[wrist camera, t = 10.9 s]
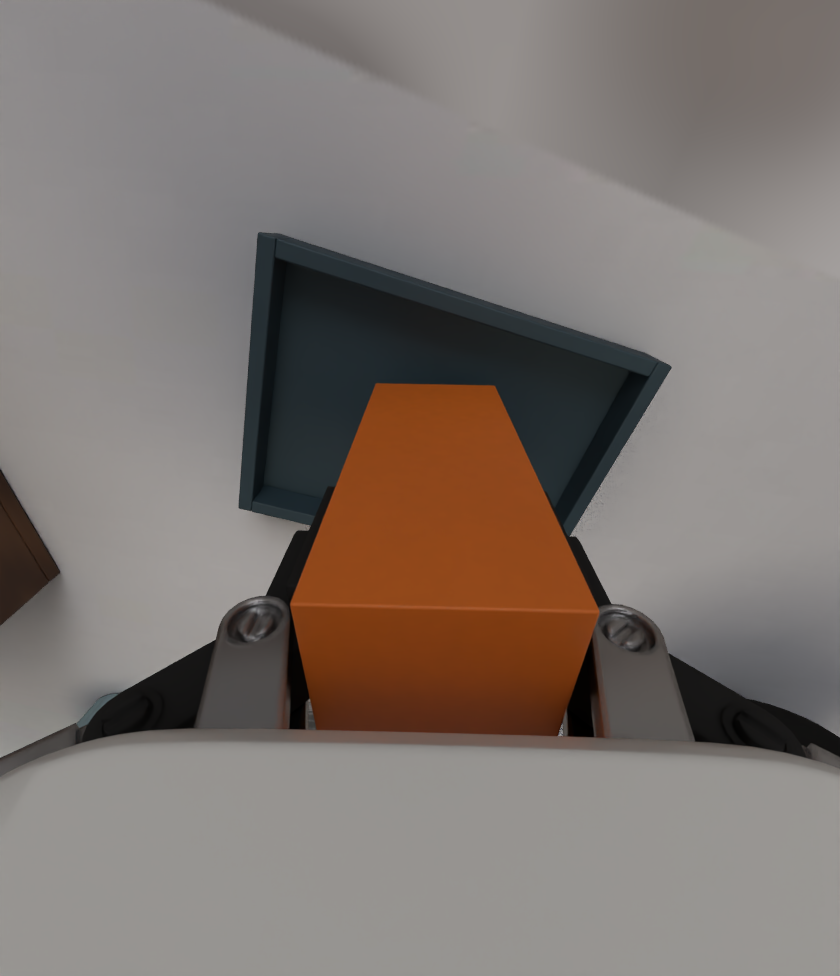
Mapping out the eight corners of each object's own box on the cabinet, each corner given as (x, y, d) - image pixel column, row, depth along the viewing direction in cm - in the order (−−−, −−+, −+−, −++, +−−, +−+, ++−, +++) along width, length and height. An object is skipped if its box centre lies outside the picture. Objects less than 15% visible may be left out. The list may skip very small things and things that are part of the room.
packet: (375, 382, 15) (287, 604, 6) (495, 385, 15) (601, 611, 6) (380, 505, 18) (327, 787, 9) (481, 507, 18) (539, 794, 9)
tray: (254, 485, 20) (238, 508, 19) (277, 232, 15) (257, 231, 13) (533, 554, 22) (543, 580, 21) (646, 353, 17) (673, 366, 15)
